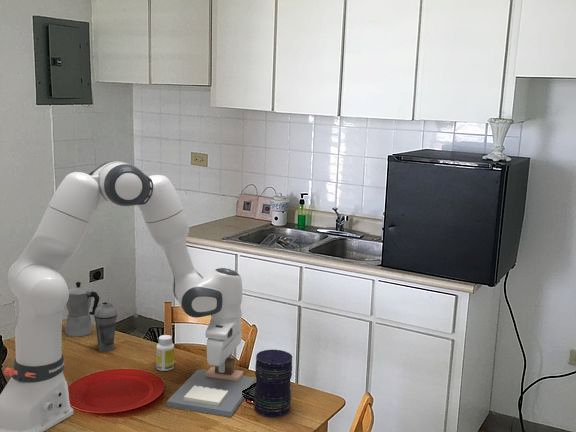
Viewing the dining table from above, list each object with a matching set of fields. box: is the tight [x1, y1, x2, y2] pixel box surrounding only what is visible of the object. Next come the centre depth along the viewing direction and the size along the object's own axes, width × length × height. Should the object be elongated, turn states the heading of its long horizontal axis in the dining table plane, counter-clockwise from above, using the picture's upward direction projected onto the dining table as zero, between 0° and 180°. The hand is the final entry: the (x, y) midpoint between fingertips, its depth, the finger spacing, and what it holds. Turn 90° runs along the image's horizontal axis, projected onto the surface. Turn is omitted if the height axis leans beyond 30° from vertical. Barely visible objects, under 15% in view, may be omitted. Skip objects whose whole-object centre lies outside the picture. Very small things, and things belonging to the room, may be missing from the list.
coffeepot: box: [64, 281, 100, 338], centre depth 220 cm, size 15×9×18 cm, turn 66°
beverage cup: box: [93, 288, 118, 353], centre depth 207 cm, size 7×7×20 cm
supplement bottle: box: [155, 334, 175, 372], centre depth 195 cm, size 5×5×10 cm
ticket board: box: [166, 368, 256, 418], centre depth 180 cm, size 22×18×3 cm
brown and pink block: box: [205, 357, 244, 381], centre depth 188 cm, size 5×10×5 cm, turn 76°
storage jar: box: [253, 349, 293, 419], centre depth 172 cm, size 10×10×15 cm
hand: (224, 368), depth 189 cm, fingers closed on brown and pink block, 3 cm apart
